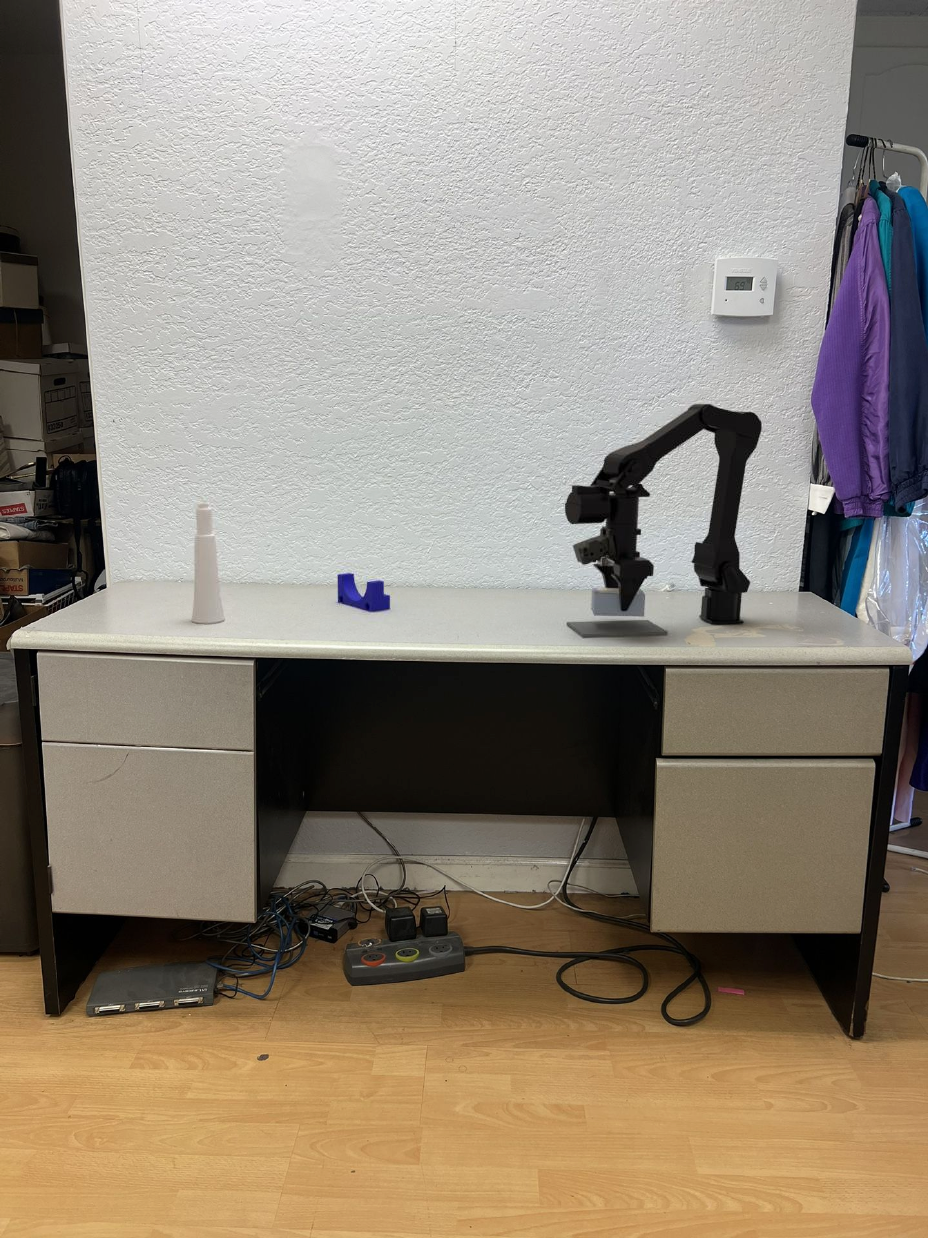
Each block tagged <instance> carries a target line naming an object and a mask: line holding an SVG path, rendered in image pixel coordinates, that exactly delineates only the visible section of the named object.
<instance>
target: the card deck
mask: <svg viewBox="0 0 928 1238" xmlns="http://www.w3.org/2000/svg"><path fill="white" fill-rule="evenodd" d="M590 606H591V607H590V609H591V611H592V614H593V616H596V617H597V616H598V617H600V616H601V617H641V618H643V617H645V606H646V594H645V592H644V591H643V589H642V588H639V590H638V592H637V594H636V595H635V597H634V599H633V601H632V603H631V605H630V607H629V608H628V610H627V611H621V607H620V598H619V588H605V587H591V603H590Z"/></svg>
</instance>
